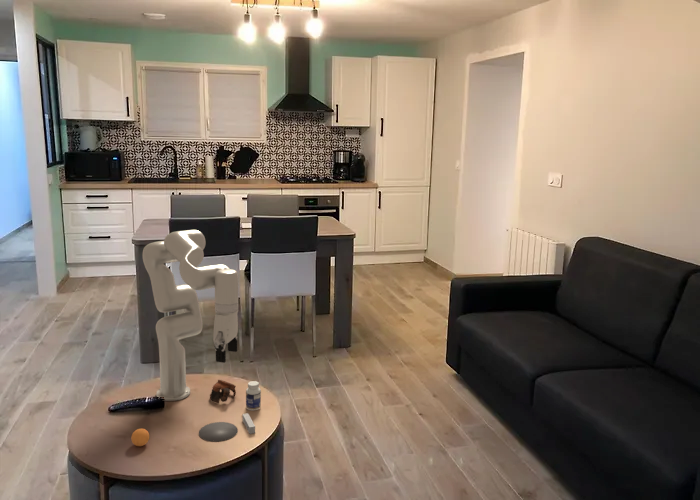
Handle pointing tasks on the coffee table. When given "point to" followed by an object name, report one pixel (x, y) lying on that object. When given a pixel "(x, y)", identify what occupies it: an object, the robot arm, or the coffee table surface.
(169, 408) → the coffee table surface
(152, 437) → the coffee table surface
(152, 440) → the coffee table surface
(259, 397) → the pill bottle
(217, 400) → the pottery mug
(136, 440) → the ball
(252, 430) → the bar
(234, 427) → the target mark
